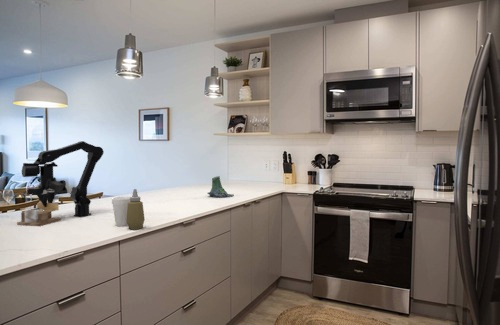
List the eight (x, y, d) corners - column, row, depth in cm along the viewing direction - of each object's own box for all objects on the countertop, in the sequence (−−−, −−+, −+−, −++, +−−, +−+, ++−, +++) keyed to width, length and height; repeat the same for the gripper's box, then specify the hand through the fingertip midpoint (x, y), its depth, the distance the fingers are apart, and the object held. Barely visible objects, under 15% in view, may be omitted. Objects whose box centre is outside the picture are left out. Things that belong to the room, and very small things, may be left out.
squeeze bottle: (129, 226, 158) (128, 188, 157) (146, 225, 159) (145, 188, 158) (124, 230, 150) (123, 190, 149) (142, 230, 151) (141, 190, 150)
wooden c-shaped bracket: (58, 209, 171) (58, 203, 171) (40, 214, 160) (40, 206, 160) (40, 209, 173) (40, 202, 173) (21, 213, 162) (21, 205, 162)
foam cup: (112, 223, 164) (111, 197, 163) (132, 221, 168) (131, 196, 167) (112, 227, 155) (112, 199, 155) (133, 225, 159) (133, 198, 158)
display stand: (61, 220, 171) (60, 206, 171) (39, 226, 159) (39, 211, 158) (39, 219, 174) (39, 205, 174) (17, 224, 161) (16, 210, 161)
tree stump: (238, 197, 253) (233, 174, 250) (213, 205, 246) (208, 182, 242) (229, 193, 270) (224, 172, 267) (206, 201, 262) (200, 179, 259)
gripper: (45, 177, 159) (45, 210, 160) (74, 174, 177) (74, 203, 178) (25, 177, 162) (26, 209, 163) (56, 174, 180) (57, 203, 181)
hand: (47, 206), depth 171 cm, fingers open, 3 cm apart
